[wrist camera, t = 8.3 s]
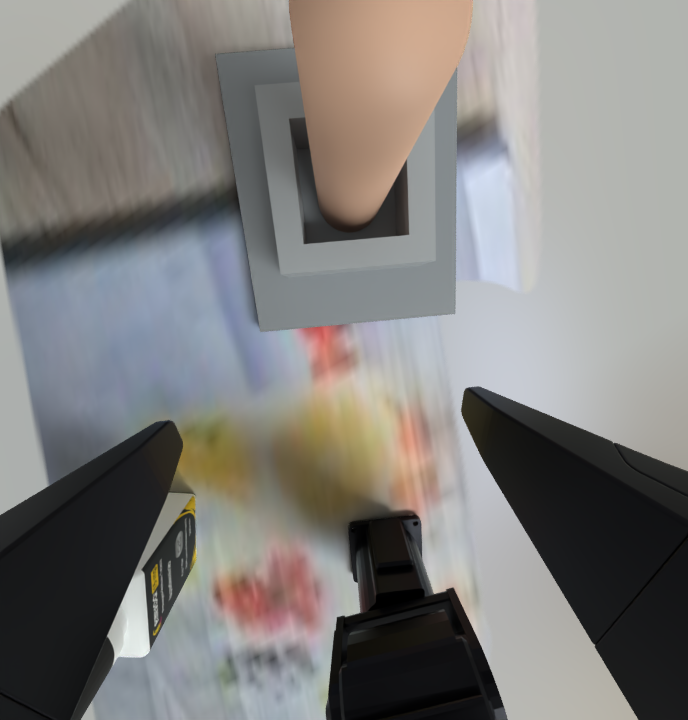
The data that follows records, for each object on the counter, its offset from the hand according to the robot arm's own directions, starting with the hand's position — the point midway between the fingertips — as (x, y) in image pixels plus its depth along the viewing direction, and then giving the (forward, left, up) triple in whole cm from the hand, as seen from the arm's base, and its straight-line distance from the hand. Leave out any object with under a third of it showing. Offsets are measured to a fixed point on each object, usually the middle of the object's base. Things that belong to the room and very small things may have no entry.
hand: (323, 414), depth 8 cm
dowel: (+9, -2, -12) cm, 15 cm away
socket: (+9, -2, -13) cm, 16 cm away
